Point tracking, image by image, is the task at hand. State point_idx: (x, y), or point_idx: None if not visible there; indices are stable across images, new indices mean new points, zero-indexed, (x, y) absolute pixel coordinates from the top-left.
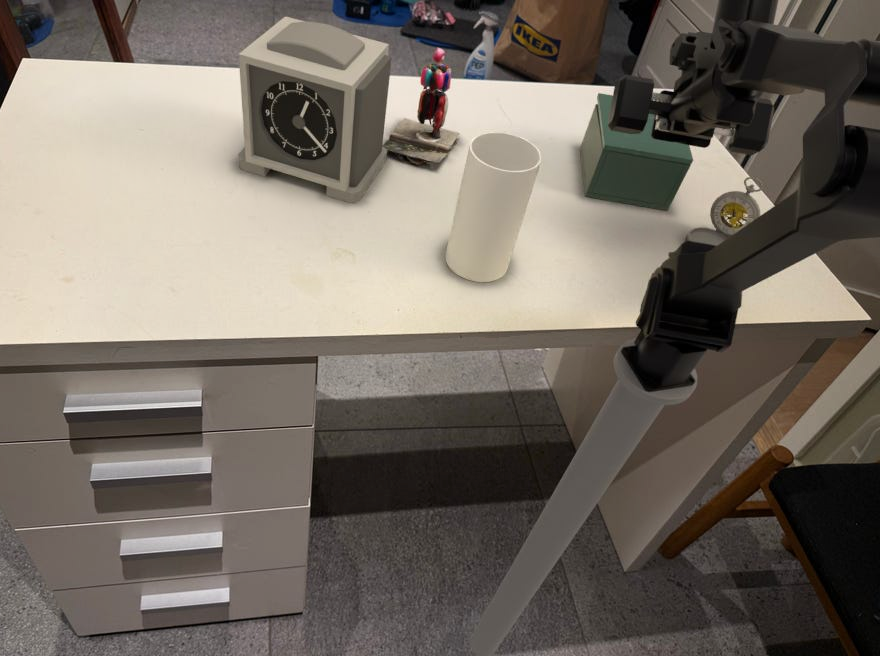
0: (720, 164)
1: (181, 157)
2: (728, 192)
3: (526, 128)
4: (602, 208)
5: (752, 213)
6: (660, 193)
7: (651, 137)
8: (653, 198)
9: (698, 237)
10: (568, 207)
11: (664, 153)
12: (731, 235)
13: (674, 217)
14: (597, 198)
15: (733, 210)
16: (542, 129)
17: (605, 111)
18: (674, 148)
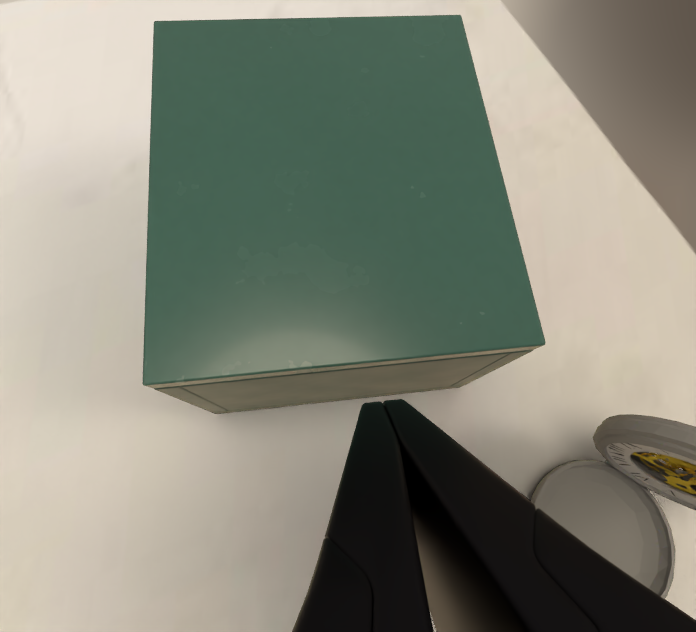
0: (572, 127)
1: None
2: (685, 443)
3: (65, 142)
4: (269, 455)
5: None
6: (432, 383)
7: (362, 244)
8: (414, 387)
9: (557, 499)
10: (158, 497)
11: (421, 344)
12: (659, 493)
13: (481, 411)
14: (254, 409)
15: (690, 476)
16: (112, 132)
17: (170, 129)
18: (461, 288)
